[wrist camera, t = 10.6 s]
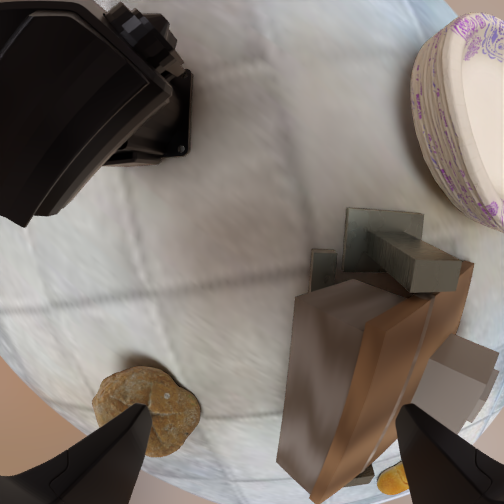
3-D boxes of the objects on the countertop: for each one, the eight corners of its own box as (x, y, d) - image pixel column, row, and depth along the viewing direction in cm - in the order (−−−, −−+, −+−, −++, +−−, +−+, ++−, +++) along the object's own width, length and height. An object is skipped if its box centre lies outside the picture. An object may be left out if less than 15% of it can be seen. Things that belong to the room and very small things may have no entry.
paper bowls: (428, 247, 19) (490, 283, 11) (357, 58, 16) (397, 6, 8) (531, 191, 16) (585, 202, 9) (480, 43, 13) (529, 19, 5)
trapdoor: (294, 288, 14) (388, 332, 9) (423, 249, 22) (475, 263, 18) (274, 464, 18) (318, 506, 13) (387, 387, 26) (425, 408, 22)
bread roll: (366, 477, 27) (371, 498, 23) (421, 445, 25) (429, 466, 21) (389, 486, 28) (394, 504, 25) (437, 458, 26) (445, 475, 22)
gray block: (407, 409, 17) (462, 439, 12) (429, 358, 15) (494, 388, 11) (432, 380, 19) (481, 403, 15) (451, 333, 18) (505, 355, 13)
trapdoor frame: (314, 205, 19) (341, 224, 11) (420, 213, 18) (485, 235, 11) (288, 436, 25) (290, 496, 17) (364, 431, 24) (379, 487, 17)
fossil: (169, 471, 20) (75, 425, 16) (156, 450, 24) (75, 406, 20) (216, 403, 24) (127, 347, 20) (198, 390, 28) (120, 338, 24)
